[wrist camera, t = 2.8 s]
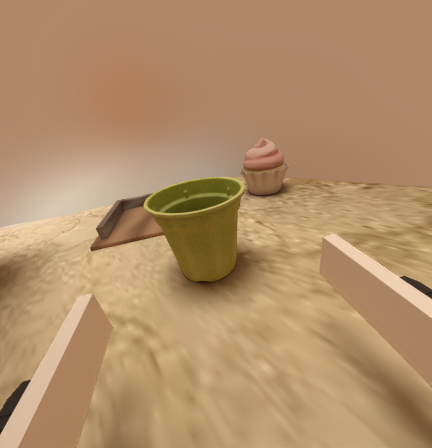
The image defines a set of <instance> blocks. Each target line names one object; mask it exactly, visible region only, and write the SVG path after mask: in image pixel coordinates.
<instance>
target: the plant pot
mask: <svg viewBox="0 0 432 448" xmlns="http://www.w3.org/2000/svg"><path fill="white" fill-rule="evenodd" d="M244 191H245V186H244V184H243V183H242V182H241V181H239V180H237V179H234V178H229V177H208V178H200V179H194V180H189V181H184V182H180V183H177V184H174V185H171V186H168V187H166V188H163V189H161V190H159V191H157V192H155V193H153V194H152V195H150V196H149V197H148V198H147V199H146V200H145V203H144V209H145V210H146V212H147V213H148V214H150V215H152V216H153V218H154V220H155V221H156V223H157V224H158V225H159V226H160V227H161V229H162V231H163V233H164V235H165V237H166V239H167V241H168V243H169V245H170V247H171V249H172V251H173V253H174V255H175V257H176V259H177V261H178V263H179V265H180V267H181V269H182V272H183V274H184V275H185V276H186V277H187V278H188V279H190V280H192V281H195V282H198V281H209V282H213V281H217V280H220V279H222V278H224V277H225V276H227V275H228V274H229V273H230V272H231V271H232V270H233V269H234V267H235V263H236V251H237V217H238V209H239V207H240V200H241V196H242V195H243V194H244Z"/></svg>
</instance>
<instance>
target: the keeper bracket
mask: <svg viewBox="0 0 432 448" xmlns="http://www.w3.org/2000/svg"><path fill="white" fill-rule="evenodd" d="M152 194H153V193H152ZM152 194H147V195H142V196H137V197H133V198H128V199H123V200H118V201H116V203H115V204H114V205H113V207H112V208H111V209H110V210H109V212H108V213H107V214H106V216H105V217H104V218H103V220H102V221H101V222H100V224H99V225H98V226H97V228H96V230H97V232H98V234H99V236H98V237H97V238H96V240H95V241H94V243H93V244H92V246H91V247H90V249H91V251H92V250H97V249H101V248H106V247H110V246H115V245H119V244H123V243H128V242H132V241H137V240H141V239H146V238H150V237H154V236H159V235H163V234H164V233H163V231H162V229H161V227H160V226H159V225H158V224H157V223H156V221H155V220H154V218H153V216H152V215H150V214H148V213H147V212H146V210H145V209H144V203H145V200H146V199H147V198H148V197H149V196H150V195H152Z"/></svg>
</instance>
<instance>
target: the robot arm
mask: <svg viewBox="0 0 432 448" xmlns="http://www.w3.org/2000/svg"><path fill="white" fill-rule="evenodd" d="M320 274H321V275H322V276H323V277H324V278H325V279H326V280H327V281H328V282H329V283H330V284H331V285H332V286H333V287H334V288H335V289H336V290H337V292H338V293H339V294H340V295H341V296H342V297H343V298H344V299H345V300H346V301H347V302H348V303H349V304H350V305H351V306H352V307H353V308H354V309H355V310H356V311H357V312H358V313H359V314H360V315H361V316H362V317H363V318H364V319H365V320H366V321H367V322H368V323H369V324H370V325H371V326H372V327H373V328H374V329H375V330H376V331H377V332H378V333H379V334H380V335H381V336H382V337H383V338H384V339H385V340H386V341H387V342H388V343H389V344H390V345H391V346H392V347H393V348H394V349H395V350H396V351H397V352H398V353H399V354H400V355H401V356H402V357H403V358H404V359H405V360H406V361H407V362H408V363H409V364H410V365H411V366H412V367H413V368H414V369H415V370H416V372H417V373H418V374H419V375H420V376H421V377H422V378H423V379H424V380H425V381H426V382H427V383H428V384H429V385H430V386H431V387H432V290H431V289H430V288H428V287H427V286H425V285H424V284H422V283H420V282H418V281H416V280H413V279H411V278H408V277H406V276H403V277H398V276H396V275H395V274H393V273H392V272H390V271H389V270H388V269H386V268H385V267H383V266H382V265H380V264H379V263H377V262H376V261H374V260H373V259H371V258H370V257H368V256H367V255H365V254H364V253H362V252H361V251H359V250H358V249H356V248H355V247H353V246H352V245H350V244H349V243H347V242H346V241H344V240H343V239H341V238H340V237H338V236H337V235H335V234H332V235H328V236H324V237H323V239H322V250H321V261H320ZM112 328H113V327H112V325H111V324H110V322H109V320H108V319H107V317H106V315H105V313H104V312H103V310H102V308H101V307H100V305H99V303H98V301H97V300H96V298H95V296H94V295H93V293H92V294H88V295H84V296H80V297H77V299H76V301H75V303H74V305H73V306H72V308H71V310H70V312H69V313H68V315H67V317H66V319H65V321H64V322H63V324H62V326H61V328H60V329H59V331H58V333H57V335H56V337H55V338H54V340H53V342H52V344H51V345H50V347H49V349H48V351H47V353H46V354H45V356H44V358H43V360H42V361H41V363H40V365H39V367H38V369H37V370H36V372H35V374H34V376H33V378H32V379H31V380H28V381H24V382H22V383H21V384H20V386H19V387H18V388H17V389H16V390H15V391H14V392H13V394H12V395H11V396H10V397H9V398H8V399H7V401H6V403H5V404H4V406H3V408H2V409H1V411H0V448H76V447H77V444H78V440H79V437H80V434H81V430H82V427H83V424H84V421H85V417H86V414H87V411H88V407H89V404H90V401H91V397H92V394H93V391H94V388H95V384H96V381H97V378H98V374H99V371H100V368H101V365H102V361H103V358H104V355H105V351H106V348H107V345H108V342H109V338H110V335H111V332H112Z"/></svg>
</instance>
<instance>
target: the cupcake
mask: <svg viewBox="0 0 432 448" xmlns="http://www.w3.org/2000/svg"><path fill="white" fill-rule="evenodd" d="M243 166H244V167H242V168H241V170H240V173H241V175H242V176H243V177H244V179H245V181H246V184H247V187H248V190H249V192H250V193H251V194H254V195H270V194H274V193H277V192H279V191H280V189H281V187H282V183H283V179H284V175H285V173H286V171H287V169H288V167H289V165H288V164H287V162H284V157H283V155H282V153H281V152H280V151H279V150H278V149H277V147H276V146H275V145H274V144H273V143H272V142H271V141H270V140H267V139H264V138H261V139H260V140H259V141H258V142H257V143H256V144H255V146H254V148H253V149H250V150H249V151H248V152H247V153H246V155H245V160H244V162H243Z"/></svg>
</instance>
